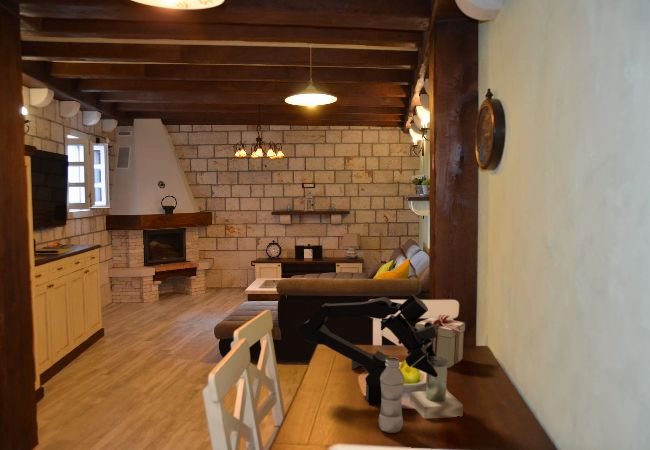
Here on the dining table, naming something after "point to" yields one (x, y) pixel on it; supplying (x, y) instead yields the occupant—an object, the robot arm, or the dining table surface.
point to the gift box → (447, 338)
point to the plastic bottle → (391, 397)
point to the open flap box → (355, 364)
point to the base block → (436, 406)
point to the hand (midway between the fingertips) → (438, 371)
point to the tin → (437, 380)
